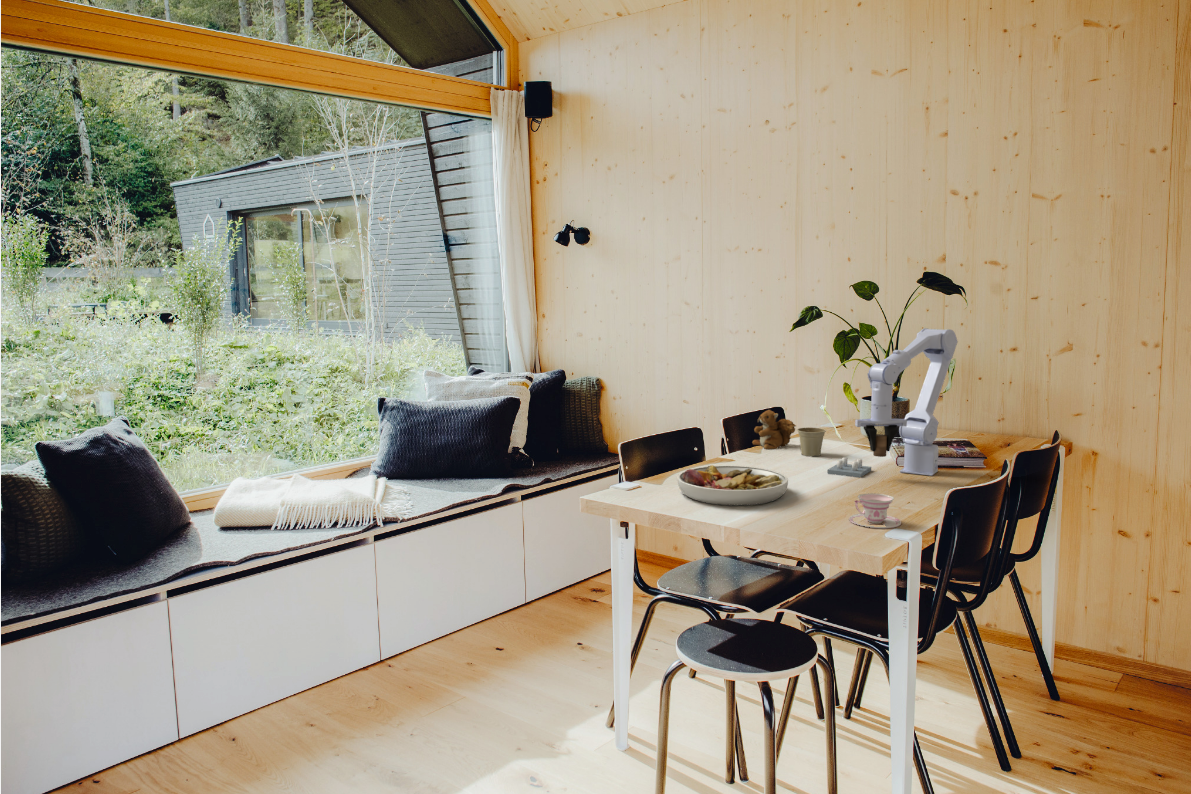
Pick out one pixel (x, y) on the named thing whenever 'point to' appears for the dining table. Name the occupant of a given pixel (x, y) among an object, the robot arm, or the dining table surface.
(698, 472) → the bowl
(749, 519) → the dining table surface
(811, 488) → the dining table surface
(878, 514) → the teacup
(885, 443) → the walnut pin
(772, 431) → the stuffed squirrel
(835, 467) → the peg pad
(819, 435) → the flower pot
